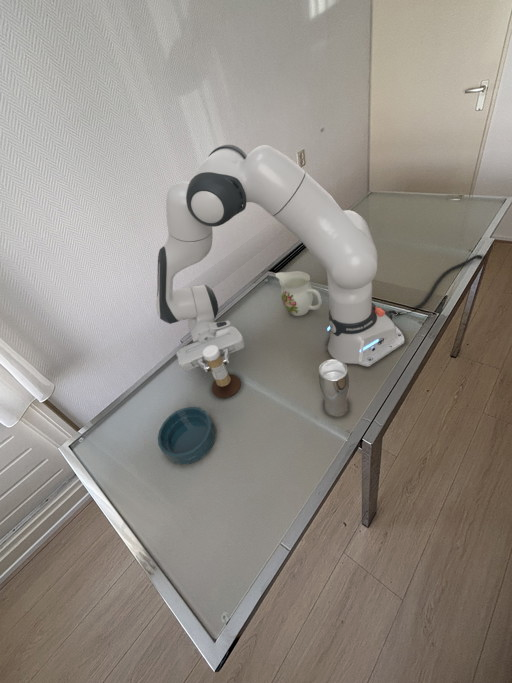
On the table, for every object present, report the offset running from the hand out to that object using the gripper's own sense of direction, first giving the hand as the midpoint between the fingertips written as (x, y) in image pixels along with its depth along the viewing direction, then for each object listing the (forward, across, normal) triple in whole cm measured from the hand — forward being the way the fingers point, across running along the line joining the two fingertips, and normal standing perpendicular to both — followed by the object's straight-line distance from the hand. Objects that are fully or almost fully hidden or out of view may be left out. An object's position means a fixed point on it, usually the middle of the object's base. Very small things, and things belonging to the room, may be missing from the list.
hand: (217, 366), depth 90 cm
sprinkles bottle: (-1, 0, +8) cm, 8 cm away
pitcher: (-21, +35, +10) cm, 42 cm away
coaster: (-1, 0, +10) cm, 10 cm away
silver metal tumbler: (+21, +25, +10) cm, 34 cm away
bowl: (+12, -14, +10) cm, 21 cm away
